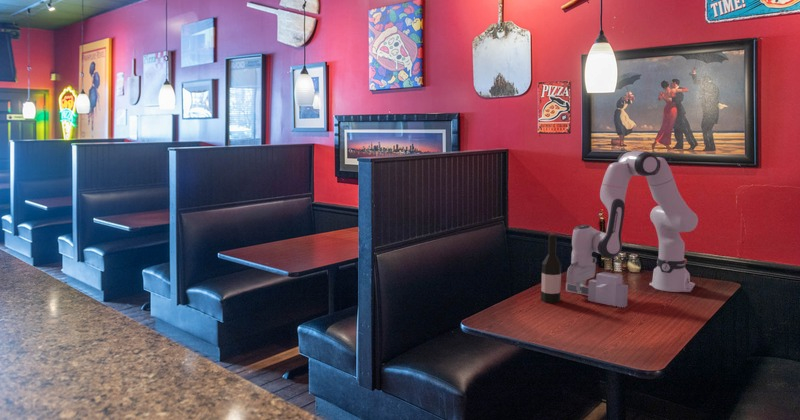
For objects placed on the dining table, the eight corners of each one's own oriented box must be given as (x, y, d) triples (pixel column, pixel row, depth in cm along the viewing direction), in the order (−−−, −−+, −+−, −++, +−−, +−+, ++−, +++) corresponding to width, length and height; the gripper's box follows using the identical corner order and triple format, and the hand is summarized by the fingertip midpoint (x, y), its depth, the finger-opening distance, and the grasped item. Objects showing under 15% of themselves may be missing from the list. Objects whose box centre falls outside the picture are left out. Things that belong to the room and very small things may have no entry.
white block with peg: (594, 297, 272) (595, 270, 270) (629, 304, 261) (630, 276, 259) (580, 303, 263) (581, 275, 261) (615, 311, 252) (616, 282, 250)
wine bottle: (558, 298, 272) (560, 232, 268) (561, 303, 264) (563, 235, 260) (539, 297, 273) (541, 231, 269) (542, 302, 265) (544, 235, 261)
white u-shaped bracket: (576, 286, 291) (577, 278, 290) (604, 292, 281) (604, 283, 280) (565, 291, 283) (565, 282, 283) (593, 296, 273) (593, 288, 273)
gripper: (576, 265, 267) (575, 295, 269) (598, 258, 282) (597, 287, 283) (563, 263, 272) (562, 293, 273) (585, 256, 286) (584, 284, 288)
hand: (580, 290), depth 279 cm, fingers closed on white u-shaped bracket, 2 cm apart
